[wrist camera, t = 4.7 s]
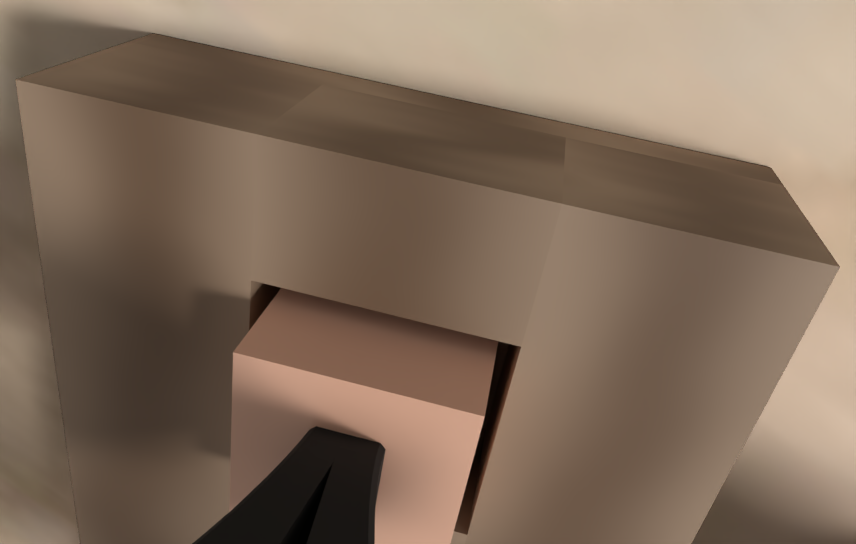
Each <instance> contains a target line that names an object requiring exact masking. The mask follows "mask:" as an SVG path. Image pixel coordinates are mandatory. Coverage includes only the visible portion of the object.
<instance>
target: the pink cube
mask: <svg viewBox="0 0 856 544" xmlns="http://www.w3.org/2000/svg"><path fill="white" fill-rule="evenodd" d="M497 346H498V341H495V340H491V339H487V338H483V337H479V336H475V335H471V334H467V333H463V332H459V331H455V330H451V329H447V328H443V327H439V326H435V325H430V324H426V323H422V322H418V321H414V320H410V319H406V318H402V317H398V316H394V315H390V314H386V313H382V312H378V311H374V310H370V309H365V308H361V307H357V306H353V305H349V304H345V303H341V302H337V301H333V300H329V299H325V298H321V297H317V296H313V295H309V294H305V293H301V292H296V291H292V290H288V289H284V288H281V289H280V290H279V292H278V293H277V294H276V296H275V297H274V298H273V300H272V301H271V302H270V304H269V305H268V306H267V308H266V309H265V310H264V312H263V313H262V314H261V316H260V317H259V318H258V320H257V321H256V322H255V324H254V325H253V326H252V328H251V329H250V330H249V332H248V333H247V334H246V336H245V337H244V338H243V340H242V341H241V342H240V344H239V345H238V346H237V348H236V349H235V350H234V352H233V375H232V416H231V457H230V498H229V512H230V511H231V510H232V509H233V508H234V507H235V506H237V505H238V504H239V503H240V502H241V501H242V500H243V499H244V498H245V497H246V496H247V495H248V494H249V493H250V492H251V491H252V490H253V489H254V488H255V487H256V486H257V485H259V484H260V483H261V482H262V481H263V480H264V479H265V478H266V477H267V476H268V475H269V474H270V473H271V472H272V471H273V470H274V469H275V468H276V467H277V466H278V464H279V463H280V462H281V461H282V460H283V459H284V458H285V457H286V456H287V455H288V454H289V453H290V452H291V451H292V449H293V448H294V447H295V446H296V445H297V444H298V443H299V441H300V440H301V439H302V438H303V437H304V436H305V434H306V433H307V432H308V431H309V429H311V428H313V427H315V426H317V427H321V428H325V429H329V430H333V431H336V432H340V433H344V434H348V435H352V436H355V437H359V438H363V439H367V440H371V441H375V442H379V443H381V444H382V445H383V447H384V448H385V449H386V450H385V456H384V461H383V467H382V472H381V478H380V484H379V489H378V495H377V500H376V506H375V544H450V543H451V540H452V536H453V532H454V529H455V525H456V521H457V518H458V514H459V510H460V506H461V503H462V499H463V495H464V492H465V488H466V484H467V481H468V477H469V473H470V469H471V466H472V462H473V458H474V455H475V451H476V447H477V444H478V440H479V436H480V432H481V429H482V425H483V421H484V418H485V413H486V407H487V402H488V396H489V390H490V385H491V379H492V374H493V368H494V363H495V357H496V351H497Z"/></svg>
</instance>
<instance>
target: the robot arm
mask: <svg viewBox="0 0 856 544" xmlns="http://www.w3.org/2000/svg"><path fill="white" fill-rule="evenodd" d="M385 450H386V449H385V448H384V447H383V445H382V444H381V443H379V442H375V441H371V440H367V439H363V438H359V437H355V436H352V435H348V434H344V433H340V432H336V431H333V430H329V429H325V428H321V427H317V426H315V427H313V428H311V429H309V431H308V432H307V433H306V434H305V436H304V437H303V438H302V439H301V440H300V441H299V443H298V444H297V445H296V446H295V447H294V448H293V449H292V451H291V452H290V453H289V454H288V455H287V456H286V457H285V458H284V459H283V460H282V461H281V462H280V463H279V464H278V466H277V467H276V468H275V469H274V470H273V471H272V472H271V473H270V474H269V475H268V476H267V477H266V478H265V479H264V480H263V481H262V482H261V483H260V484H259V485H257V486H256V487H255V488H254V489H253V490H252V491H251V492H250V493H249V494H248V495H247V496H246V497H245V498H244V499H243V500H242V501H241V502H240V503H239V504H238V505H237V506H235V507H234V508H233V509H232V510H231V511H230V512H229V513H227V514H226V515H225V516H224V517H223V518H222V519H221V520H219V521H218V522H217V523H216V524H215V525H214V526H212V527H211V528H210V529H209V530H208V531H207V532H205V533H204V534H203V535H202V536H201V537H200V538H198V539H197V540H196V541H195V542H194V543H192V544H375V506H376V500H377V495H378V489H379V484H380V478H381V472H382V467H383V461H384V456H385Z"/></svg>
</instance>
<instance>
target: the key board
mask: <svg viewBox="0 0 856 544" xmlns="http://www.w3.org/2000/svg"><path fill="white" fill-rule="evenodd" d="M15 81H16V88H17V95H18V103H19V110H20V117H21V124H22V131H23V138H24V146H25V153H26V160H27V167H28V174H29V181H30V188H31V196H32V203H33V210H34V217H35V224H36V231H37V239H38V246H39V253H40V260H41V267H42V274H43V281H44V289H45V296H46V303H47V310H48V317H49V324H50V332H51V339H52V346H53V353H54V360H55V367H56V374H57V382H58V389H59V396H60V403H61V410H62V417H63V425H64V432H65V439H66V446H67V453H68V460H69V467H70V475H71V482H72V489H73V496H74V503H75V510H76V518H77V525H78V532H79V539H80V544H192V543H194V542H195V541H196V540H197V539H198V538H200V537H201V536H202V535H203V534H204V533H205V532H207V531H208V530H209V529H210V528H211V527H212V526H214V525H215V524H216V523H217V522H218V521H219V520H221V519H222V518H223V517H224V516H225V515H226V514H227V513H229V498H230V457H231V416H232V375H233V352H234V350H235V349H236V348H237V346H238V345H239V344H240V342H241V341H242V340H243V338H244V337H245V336H246V334H247V333H248V332H249V330H250V329H251V328H252V326H253V325H254V324H255V322H256V321H257V320H258V318H259V317H260V316H261V314H262V313H263V312H264V310H265V309H266V308H267V306H268V305H269V304H270V302H271V301H272V300H273V298H274V297H275V296H276V294H277V293H278V292H279V290H280V289H281V288H284V289H288V290H292V291H296V292H301V293H305V294H309V295H313V296H317V297H321V298H325V299H329V300H333V301H337V302H341V303H345V304H349V305H353V306H357V307H361V308H365V309H370V310H374V311H378V312H382V313H386V314H390V315H394V316H398V317H402V318H406V319H410V320H414V321H418V322H422V323H426V324H430V325H435V326H439V327H443V328H447V329H451V330H455V331H459V332H463V333H467V334H471V335H475V336H479V337H483V338H487V339H491V340H495V341H498V346H497V351H496V357H495V363H494V368H493V374H492V379H491V385H490V390H489V396H488V402H487V407H486V413H485V418H484V421H483V425H482V429H481V432H480V436H479V440H478V444H477V447H476V451H475V455H474V458H473V462H472V466H471V469H470V473H469V477H468V481H467V484H466V488H465V492H464V495H463V499H462V503H461V506H460V510H459V514H458V518H457V521H456V525H455V529H454V532H453V536H452V540H451V543H450V544H691V543H692V541H693V540H694V538H695V536H696V534H697V532H698V530H699V528H700V527H701V525H702V523H703V521H704V519H705V517H706V515H707V514H708V512H709V510H710V508H711V506H712V504H713V502H714V501H715V499H716V497H717V495H718V493H719V491H720V489H721V487H722V486H723V484H724V482H725V480H726V478H727V476H728V474H729V473H730V471H731V469H732V467H733V465H734V463H735V461H736V460H737V458H738V456H739V454H740V452H741V450H742V448H743V447H744V445H745V443H746V441H747V439H748V437H749V435H750V434H751V432H752V430H753V428H754V426H755V424H756V422H757V420H758V419H759V417H760V415H761V413H762V411H763V409H764V407H765V406H766V404H767V402H768V400H769V398H770V396H771V394H772V393H773V391H774V389H775V387H776V385H777V383H778V381H779V380H780V378H781V376H782V374H783V372H784V370H785V368H786V367H787V365H788V363H789V361H790V359H791V357H792V355H793V353H794V352H795V350H796V348H797V346H798V344H799V342H800V340H801V339H802V337H803V335H804V333H805V331H806V329H807V327H808V326H809V324H810V322H811V320H812V318H813V316H814V314H815V313H816V311H817V309H818V307H819V305H820V303H821V301H822V300H823V298H824V296H825V294H826V292H827V290H828V288H829V286H830V285H831V283H832V281H833V279H834V277H835V275H836V273H837V272H838V270H839V268H840V266H839V265H838V264H837V262H836V261H835V259H834V258H833V256H832V255H831V253H830V252H829V251H828V249H827V248H826V246H825V245H824V243H823V242H822V240H821V239H820V238H819V236H818V235H817V233H816V232H815V230H814V229H813V227H812V226H811V225H810V223H809V222H808V220H807V219H806V217H805V216H804V214H803V213H802V212H801V210H800V209H799V207H798V206H797V204H796V203H795V201H794V200H793V199H792V197H791V196H790V194H789V193H788V191H787V190H786V188H785V187H784V186H783V184H782V183H781V181H780V180H779V178H778V177H777V175H776V174H775V173H774V171H773V170H772V168H770V167H765V166H760V165H756V164H751V163H747V162H742V161H737V160H733V159H728V158H724V157H719V156H714V155H710V154H705V153H701V152H696V151H691V150H687V149H682V148H678V147H673V146H668V145H664V144H659V143H655V142H650V141H645V140H641V139H636V138H632V137H627V136H622V135H618V134H613V133H609V132H604V131H599V130H595V129H590V128H586V127H581V126H576V125H572V124H567V123H563V122H558V121H553V120H549V119H544V118H540V117H535V116H530V115H526V114H521V113H517V112H512V111H507V110H503V109H498V108H494V107H489V106H484V105H480V104H475V103H471V102H466V101H461V100H457V99H452V98H448V97H443V96H439V95H434V94H429V93H425V92H420V91H416V90H411V89H406V88H402V87H397V86H393V85H388V84H383V83H379V82H374V81H370V80H365V79H360V78H356V77H351V76H347V75H342V74H337V73H333V72H328V71H324V70H319V69H314V68H310V67H305V66H301V65H296V64H291V63H287V62H282V61H278V60H273V59H268V58H264V57H259V56H255V55H250V54H245V53H241V52H236V51H232V50H227V49H222V48H218V47H213V46H209V45H204V44H199V43H195V42H190V41H186V40H181V39H176V38H172V37H167V36H163V35H158V34H150V35H147V36H144V37H141V38H138V39H135V40H132V41H129V42H126V43H123V44H120V45H117V46H114V47H111V48H108V49H105V50H102V51H99V52H96V53H93V54H90V55H87V56H84V57H81V58H78V59H75V60H72V61H69V62H66V63H63V64H60V65H57V66H54V67H51V68H48V69H45V70H42V71H39V72H36V73H33V74H30V75H27V76H24V77H21V78H18V79H15Z"/></svg>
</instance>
